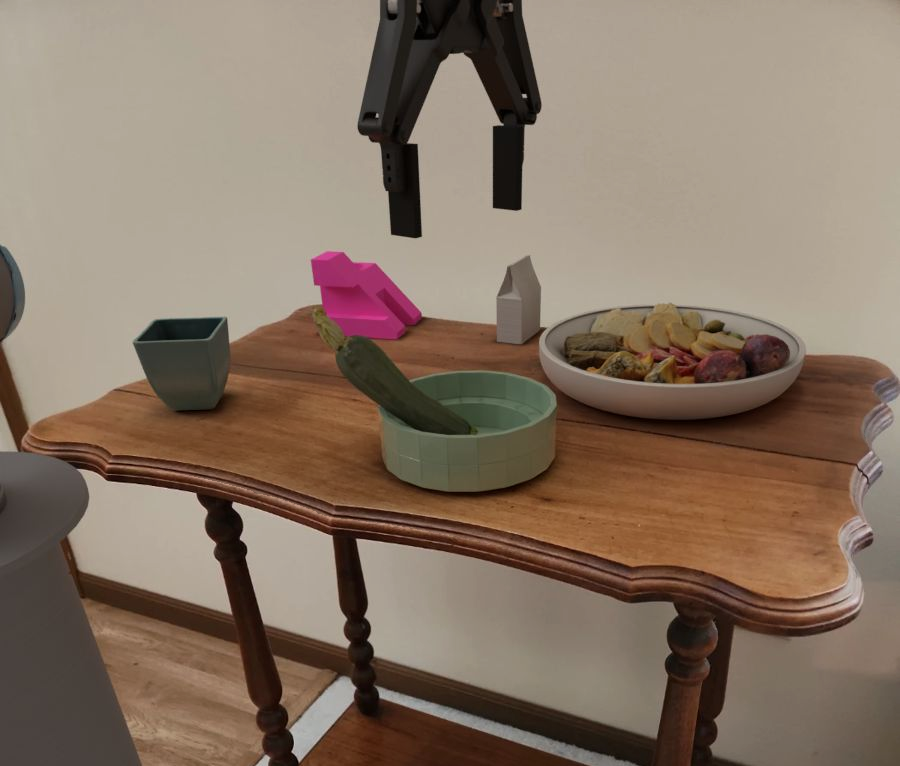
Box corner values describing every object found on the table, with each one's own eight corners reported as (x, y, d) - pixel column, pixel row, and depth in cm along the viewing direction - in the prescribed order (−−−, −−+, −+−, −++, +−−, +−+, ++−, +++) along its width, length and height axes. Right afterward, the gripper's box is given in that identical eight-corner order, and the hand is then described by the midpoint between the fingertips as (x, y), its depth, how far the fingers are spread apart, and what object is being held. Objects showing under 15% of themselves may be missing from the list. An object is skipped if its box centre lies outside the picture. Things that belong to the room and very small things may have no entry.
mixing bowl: (348, 466, 81) (341, 409, 78) (456, 412, 92) (455, 359, 88) (483, 515, 72) (482, 453, 68) (587, 448, 82) (590, 392, 79)
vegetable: (468, 465, 79) (299, 331, 71) (448, 468, 83) (286, 342, 75) (490, 428, 80) (326, 292, 71) (469, 433, 84) (311, 304, 75)
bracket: (320, 334, 118) (310, 259, 112) (349, 314, 126) (341, 243, 120) (396, 339, 114) (391, 262, 108) (421, 318, 122) (417, 245, 116)
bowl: (487, 388, 97) (486, 322, 93) (630, 328, 114) (635, 270, 110) (710, 457, 80) (723, 379, 75) (841, 374, 97) (858, 306, 92)
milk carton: (540, 330, 115) (541, 255, 110) (521, 344, 110) (522, 267, 105) (516, 327, 117) (516, 254, 111) (496, 341, 112) (496, 265, 106)
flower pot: (226, 416, 93) (210, 338, 88) (151, 419, 93) (130, 341, 88) (242, 389, 101) (228, 315, 95) (172, 391, 101) (154, 318, 96)
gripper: (366, -131, 47) (392, 255, 59) (592, -99, 63) (576, 202, 75) (282, -115, 51) (322, 243, 64) (514, -88, 67) (510, 196, 79)
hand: (459, 222), depth 69 cm, fingers open, 13 cm apart
